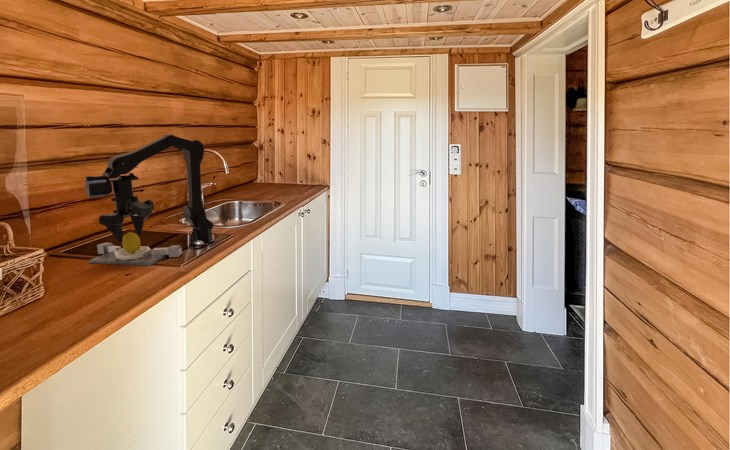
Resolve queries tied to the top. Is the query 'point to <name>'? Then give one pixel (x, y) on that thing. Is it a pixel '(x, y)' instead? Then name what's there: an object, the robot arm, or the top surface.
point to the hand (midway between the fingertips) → (130, 238)
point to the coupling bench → (127, 262)
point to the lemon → (131, 242)
